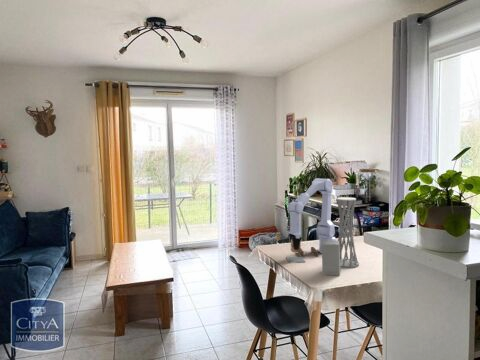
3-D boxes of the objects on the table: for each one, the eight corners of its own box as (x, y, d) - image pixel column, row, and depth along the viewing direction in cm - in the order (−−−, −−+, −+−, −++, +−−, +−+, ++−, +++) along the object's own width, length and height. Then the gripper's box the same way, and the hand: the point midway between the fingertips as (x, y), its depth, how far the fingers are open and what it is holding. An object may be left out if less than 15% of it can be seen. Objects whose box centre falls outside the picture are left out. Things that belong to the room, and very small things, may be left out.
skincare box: (340, 272, 174) (340, 240, 173) (339, 276, 167) (339, 244, 166) (322, 270, 177) (323, 239, 176) (321, 275, 170) (321, 242, 169)
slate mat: (301, 257, 199) (301, 256, 199) (305, 262, 190) (305, 261, 190) (285, 257, 199) (285, 257, 199) (288, 262, 190) (288, 261, 190)
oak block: (298, 249, 197) (298, 239, 196) (300, 252, 192) (300, 241, 192) (290, 249, 196) (290, 239, 196) (292, 252, 192) (292, 241, 191)
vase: (351, 259, 194) (352, 196, 192) (363, 267, 181) (365, 199, 178) (328, 261, 192) (328, 197, 189) (339, 269, 179) (339, 200, 176)
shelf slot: (313, 251, 210) (313, 246, 210) (317, 256, 200) (317, 251, 200) (297, 252, 210) (297, 247, 210) (301, 257, 200) (301, 251, 200)
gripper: (285, 221, 200) (285, 244, 201) (290, 226, 186) (290, 251, 187) (298, 221, 200) (298, 244, 201) (303, 226, 186) (303, 251, 187)
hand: (295, 248), depth 194 cm, fingers closed on oak block, 4 cm apart
